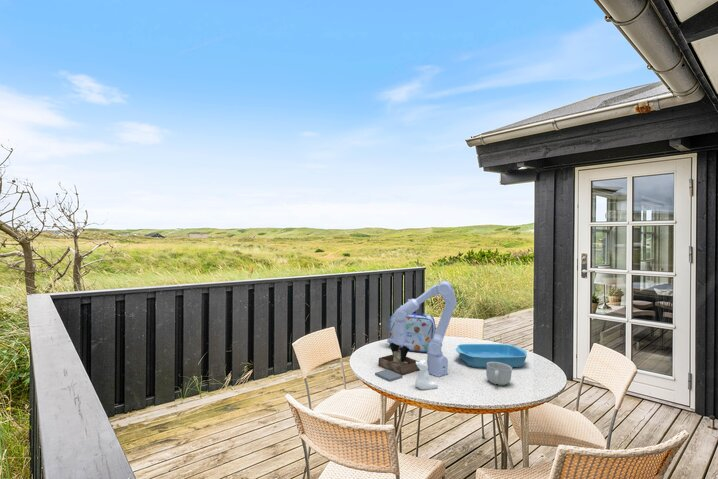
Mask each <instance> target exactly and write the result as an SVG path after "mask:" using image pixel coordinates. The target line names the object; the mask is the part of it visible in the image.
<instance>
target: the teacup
mask: <svg viewBox="0 0 718 479" xmlns="http://www.w3.org/2000/svg"><path fill="white" fill-rule="evenodd" d="M485 369H486V370H485V372H486V373H485V374H486V378H487V379H488V380H489V382H490V383H491V384H494V385H496V384H498V385H497V386H505V384H506V385H507V384H509V383H510V382H511V379H512V374H513V373H512V371H513V368H512V367H511V366H509V365H507V364H503V363H499V362H488V363H487V368H485Z"/></svg>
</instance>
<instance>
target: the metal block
mask: <svg viewBox="0 0 718 479" xmlns="http://www.w3.org/2000/svg"><path fill="white" fill-rule="evenodd" d="M394 362H396V363H398V364H400V363H404V362H405V361H404V362H401V351H400V349H398V351H394Z"/></svg>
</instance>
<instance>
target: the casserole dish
mask: <svg viewBox="0 0 718 479" xmlns="http://www.w3.org/2000/svg"><path fill="white" fill-rule="evenodd" d="M455 351H456V353H458V355H459V357H460V358H461V360H462V361H463V362H464V363H465V364H467V365H468V366H469V367H471V366H472V367H471V368H476V367H478V368H477V369H479V368H480V369H487V363H488V362H499V363H503V364H507V365H509V366H511V367H517V368H520V367H521V366H523V365H524V363H525V361H526V359H527V357H528V355H527V350H526V349H523V348H521V347H518V346H515V345H511V344H503V343H461V344H458V345H457V347H456V348H455Z"/></svg>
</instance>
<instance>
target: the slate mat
mask: <svg viewBox="0 0 718 479" xmlns="http://www.w3.org/2000/svg"><path fill="white" fill-rule="evenodd" d="M374 376H376V377H379V378H381V379H383V380H385V381H387V382H390V383H391V382H393V381H397V380H400V379H403V375H400V374H397V373H395V372H393V371H390V370H388V369H383V370H380V371H376V372H374Z"/></svg>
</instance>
